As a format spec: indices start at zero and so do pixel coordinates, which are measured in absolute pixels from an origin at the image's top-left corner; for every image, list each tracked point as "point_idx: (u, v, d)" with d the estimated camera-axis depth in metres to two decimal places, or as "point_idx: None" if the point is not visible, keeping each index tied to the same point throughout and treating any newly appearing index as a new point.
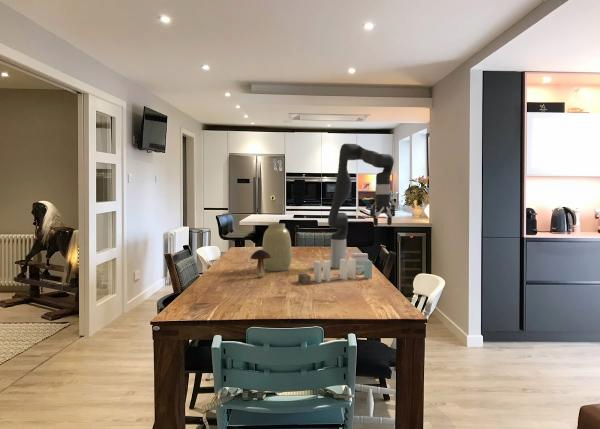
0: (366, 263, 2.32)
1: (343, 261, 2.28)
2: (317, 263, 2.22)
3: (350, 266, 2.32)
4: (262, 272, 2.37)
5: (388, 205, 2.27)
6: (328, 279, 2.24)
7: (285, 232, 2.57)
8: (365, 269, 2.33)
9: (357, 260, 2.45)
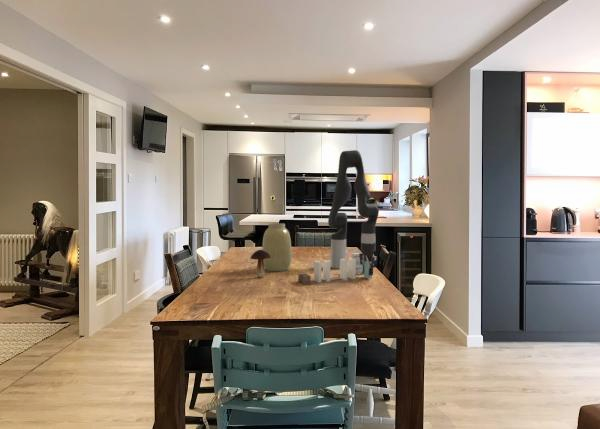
0: (366, 263, 2.32)
1: (343, 261, 2.28)
2: (317, 263, 2.22)
3: (350, 266, 2.32)
4: (262, 272, 2.37)
5: None
6: (328, 279, 2.24)
7: (285, 232, 2.57)
8: (365, 269, 2.33)
9: (357, 260, 2.45)
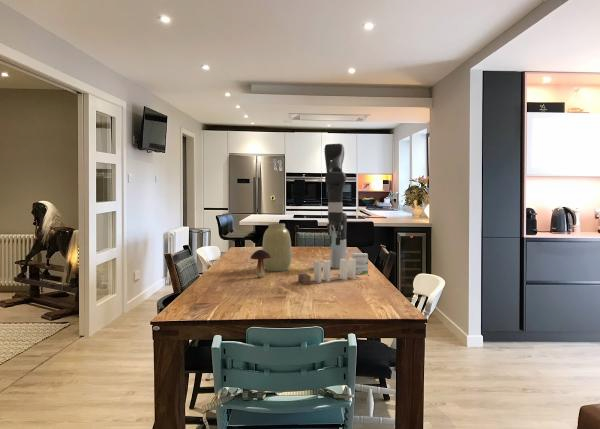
0: (333, 233, 2.27)
1: (343, 261, 2.28)
2: (317, 263, 2.22)
3: (350, 266, 2.32)
4: (262, 272, 2.37)
5: None
6: (328, 279, 2.24)
7: (285, 232, 2.57)
8: (332, 240, 2.28)
9: (357, 260, 2.45)
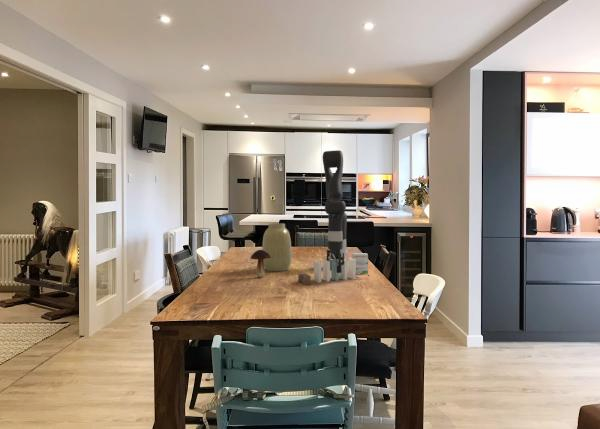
0: (333, 263, 2.28)
1: None
2: (317, 263, 2.22)
3: (350, 266, 2.32)
4: (262, 272, 2.37)
5: None
6: (328, 279, 2.24)
7: (285, 232, 2.57)
8: (332, 269, 2.28)
9: (357, 260, 2.45)
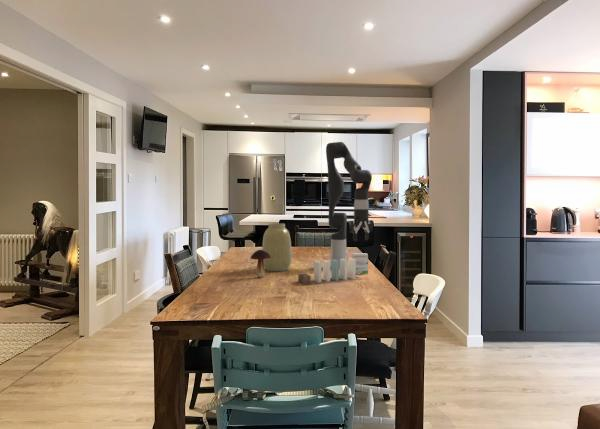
0: (333, 263, 2.28)
1: (343, 261, 2.28)
2: (317, 263, 2.22)
3: (350, 266, 2.32)
4: (262, 272, 2.37)
5: None
6: (328, 279, 2.24)
7: (285, 232, 2.57)
8: (332, 269, 2.28)
9: (357, 260, 2.45)
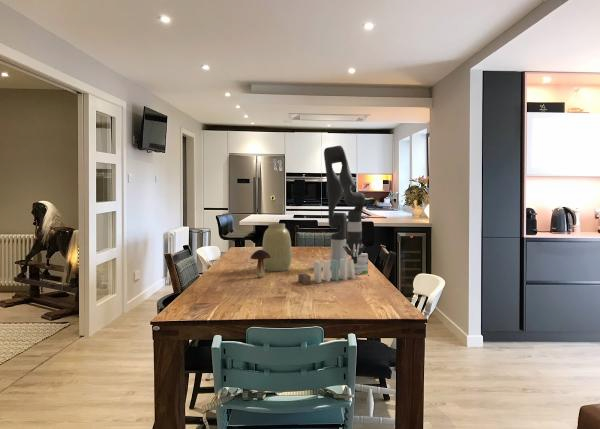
0: (333, 263, 2.28)
1: (343, 261, 2.28)
2: (317, 263, 2.22)
3: (348, 266, 2.31)
4: (262, 272, 2.37)
5: None
6: (328, 279, 2.24)
7: (285, 232, 2.57)
8: (332, 269, 2.28)
9: (357, 260, 2.45)
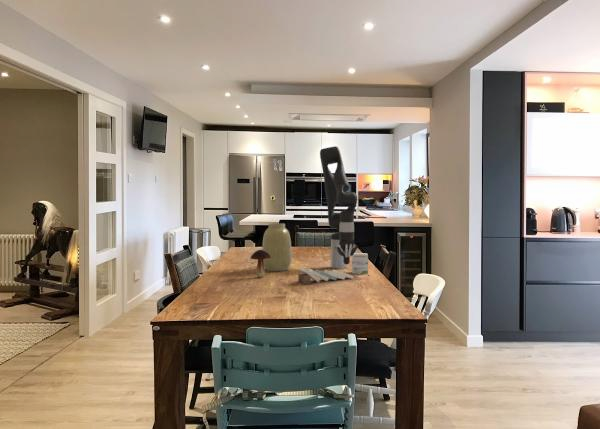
0: (319, 273, 2.25)
1: None
2: (304, 271, 2.19)
3: None
4: (262, 272, 2.37)
5: None
6: (325, 279, 2.23)
7: (285, 232, 2.57)
8: None
9: (357, 260, 2.45)
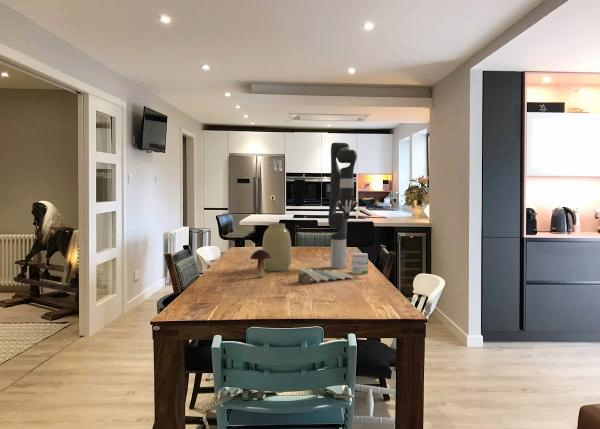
0: (319, 273, 2.25)
1: None
2: (304, 271, 2.19)
3: None
4: (262, 272, 2.37)
5: None
6: (325, 279, 2.23)
7: (285, 232, 2.57)
8: None
9: (357, 260, 2.45)
